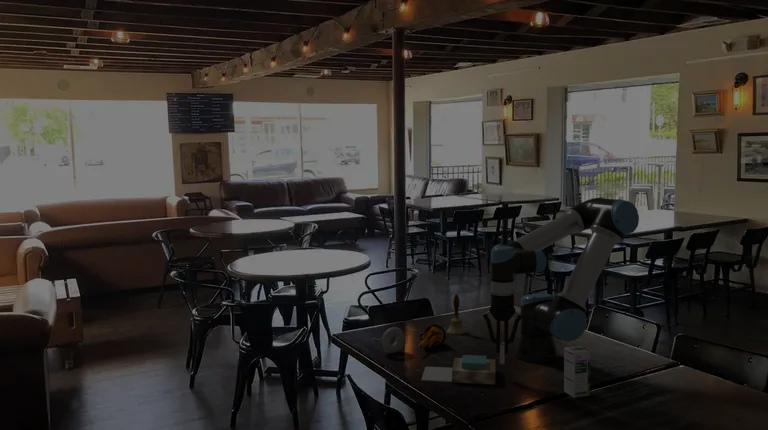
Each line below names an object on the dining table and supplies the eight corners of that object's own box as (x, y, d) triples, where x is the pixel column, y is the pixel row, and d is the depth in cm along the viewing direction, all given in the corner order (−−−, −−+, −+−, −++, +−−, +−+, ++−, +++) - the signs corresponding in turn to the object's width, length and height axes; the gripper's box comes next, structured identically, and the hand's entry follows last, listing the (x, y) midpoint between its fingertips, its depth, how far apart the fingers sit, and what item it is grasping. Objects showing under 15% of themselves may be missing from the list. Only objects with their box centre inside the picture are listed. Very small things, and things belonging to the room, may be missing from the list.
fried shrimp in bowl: (451, 331, 251) (444, 329, 234) (439, 356, 250) (431, 356, 233) (431, 320, 254) (422, 317, 237) (419, 346, 253) (409, 344, 236)
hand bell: (443, 330, 269) (443, 293, 267) (461, 328, 271) (461, 291, 270) (451, 335, 261) (451, 297, 259) (469, 333, 263) (469, 296, 262)
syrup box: (573, 398, 194) (574, 352, 192) (563, 391, 199) (563, 346, 198) (590, 396, 195) (591, 350, 194) (579, 389, 201) (579, 344, 199)
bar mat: (454, 368, 221) (454, 367, 221) (451, 382, 208) (451, 381, 208) (425, 367, 223) (425, 366, 223) (421, 380, 210) (421, 379, 210)
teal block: (486, 361, 216) (486, 355, 216) (486, 369, 208) (486, 363, 208) (462, 360, 218) (462, 354, 217) (461, 368, 210) (461, 362, 210)
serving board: (495, 370, 219) (495, 359, 218) (495, 384, 206) (495, 372, 205) (454, 368, 221) (454, 357, 221) (452, 382, 208) (452, 370, 208)
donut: (385, 356, 235) (384, 330, 234) (379, 354, 238) (379, 328, 237) (406, 351, 241) (406, 326, 240) (401, 349, 244) (400, 324, 243)
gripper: (522, 291, 211) (521, 359, 214) (482, 290, 214) (482, 358, 216) (523, 296, 204) (522, 367, 207) (482, 295, 206) (482, 365, 209)
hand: (502, 362), depth 211 cm, fingers closed
